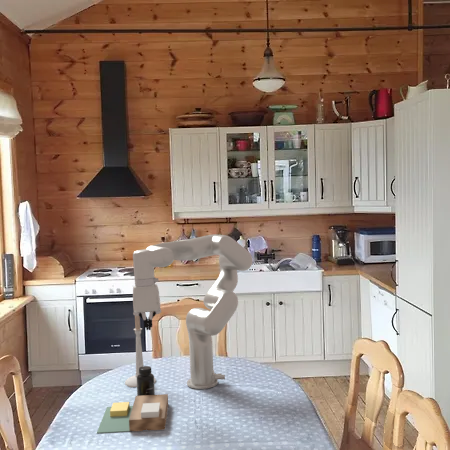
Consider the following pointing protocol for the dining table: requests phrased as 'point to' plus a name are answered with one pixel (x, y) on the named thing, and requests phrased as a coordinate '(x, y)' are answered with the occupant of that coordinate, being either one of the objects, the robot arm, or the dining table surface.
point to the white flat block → (150, 410)
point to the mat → (114, 422)
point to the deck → (148, 423)
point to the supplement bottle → (145, 381)
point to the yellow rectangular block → (119, 409)
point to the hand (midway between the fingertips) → (148, 329)
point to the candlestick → (137, 355)
